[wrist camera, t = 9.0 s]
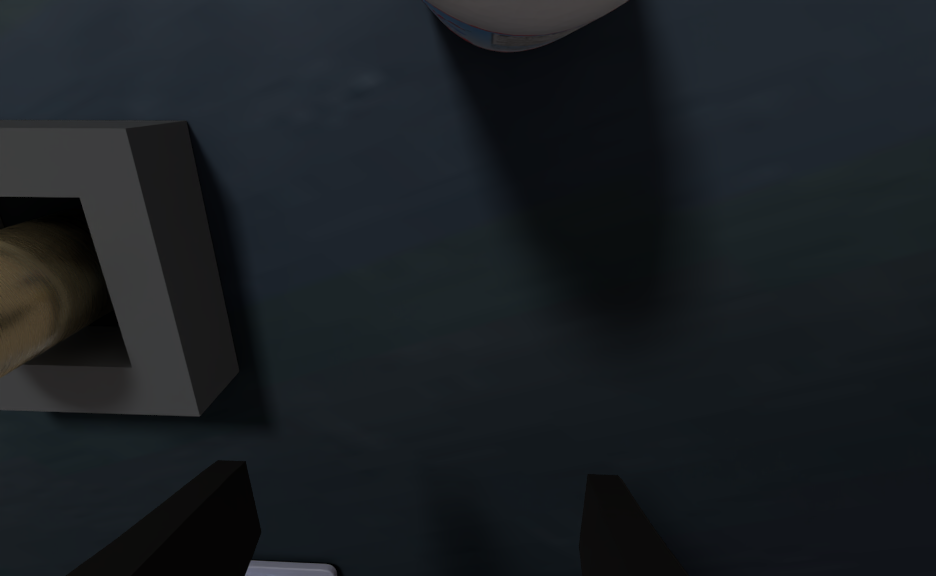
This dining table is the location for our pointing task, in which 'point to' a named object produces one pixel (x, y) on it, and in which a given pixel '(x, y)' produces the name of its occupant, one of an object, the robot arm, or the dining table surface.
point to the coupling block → (127, 269)
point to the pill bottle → (517, 20)
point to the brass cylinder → (47, 285)
